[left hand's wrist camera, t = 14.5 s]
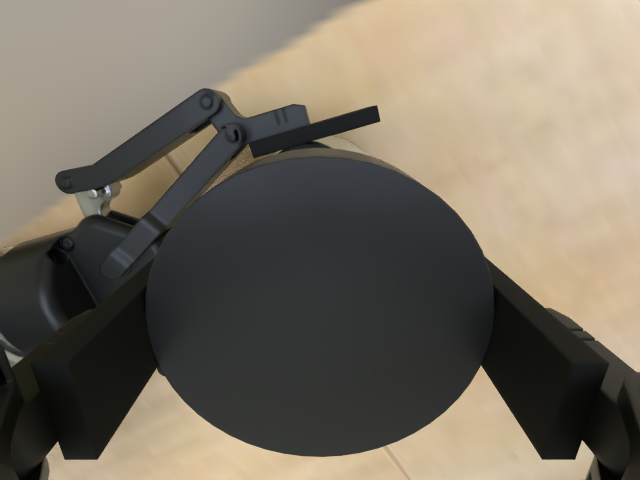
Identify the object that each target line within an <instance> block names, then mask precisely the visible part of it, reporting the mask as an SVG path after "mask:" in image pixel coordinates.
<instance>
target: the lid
mask: <svg viewBox="0 0 640 480" xmlns="http://www.w3.org/2000/svg"><path fill="white" fill-rule="evenodd" d="M494 312H495V309H494V290H493V285H492V280H491V275H490V270H489V268H488V265H487V262H486V260H485V257H484V254H483V251H482V249H481V248H480V246H479V244H478V242H477V241H476V239H475V237H474V235H473V233H472V232H471V230H470V229H469V228H468V226H467V225H466V224H465V223H464V221H463V220H462V219H461V218H460V216H459V215H458V214H457V213H456V212H455V211H454V210H453V209H452V208H451V207H450V206H449V205H448V204H447V203H446V202H444V201H443V200H442V199H441V198H440V197H439V196H438V195H436V194H435V193H433V192H432V191H430V190H429V189H427V188H426V187H425V186H423V185H422V184H420V183H419V182H417V181H416V180H414V179H413V178H411V177H410V176H408V175H407V174H405V173H404V172H403V171H401V170H400V169H398V168H396V167H394V166H392V165H390V164H388V163H386V162H384V161H382V160H380V159H377V158H374V157H371V156H368V155H365V154H362V153H358V152H353V151H347V150H342V149H331V148H309V149H297V150H292V151H287V152H283V153H278V154H274V155H272V156H269V157H266V158H264V159H261V160H258V161H255V162H254V163H252V164H250V165H248V166H246V167H244V168H242V169H241V170H239V171H237V172H235V173H234V174H232V175H231V176H229V177H228V178H226V179H225V180H224V181H222V182H221V183H219V184H218V185H216V186H215V187H213V188H212V189H211V190H209V191H208V192H207V193H205V194H204V195H203V196H201V197H200V198H198V199H197V200H196V201H195V202H194V203H193V204H192V205H191V206H190V207H189V208H188V209H187V210H186V211H185V212H184V213H183V214H182V215H181V216H180V217H179V218H178V220H177V221H176V222H175V224H174V225H173V226H172V228H171V229H170V230H169V232H168V233H167V234H166V236H165V238H164V240H163V242H162V244H161V246H160V248H159V249H158V251H157V253H156V255H155V258H154V261H153V264H152V267H151V270H150V273H149V278H148V284H147V290H146V303H145V316H146V323H147V330H148V335H149V339H150V343H151V346H152V349H153V353H154V355H155V357H156V359H157V362H158V364H159V366H160V368H161V370H162V372H163V373H164V375H165V377H166V378H167V380H168V381H169V383H170V384H171V386H172V387H173V389H174V390H175V391H176V392H177V393H178V395H179V396H180V397H181V398H182V399H183V400H184V402H185V403H187V404H188V405H189V406H190V407H191V408H192V409H193V410H194V411H195V412H196V413H197V414H198V415H200V416H201V417H202V418H204V419H205V420H206V421H208V422H209V423H210V424H212V425H213V426H215V427H216V428H218V429H220V430H222V431H223V432H225V433H227V434H228V435H230V436H232V437H235V438H237V439H239V440H241V441H243V442H246V443H248V444H251V445H254V446H257V447H260V448H263V449H266V450H271V451H275V452H279V453H284V454H291V455H299V456H315V457H327V456H342V455H349V454H355V453H361V452H365V451H369V450H373V449H377V448H380V447H383V446H386V445H389V444H391V443H394V442H397V441H399V440H401V439H403V438H405V437H407V436H409V435H411V434H413V433H415V432H417V431H418V430H420V429H422V428H423V427H425V426H426V425H428V424H430V423H431V422H432V421H434V420H435V419H436V418H437V417H439V416H440V415H441V414H443V413H444V412H445V411H446V410H447V409H448V408H449V407H450V406H451V405H452V404H453V403H454V402H455V401H456V400H457V399H458V398H459V397H460V396H461V394H462V393H463V392H464V391H465V389H466V388H467V387H468V386H469V384H470V383H471V381H472V380H473V378H474V376H475V375H476V373H477V371H478V370H479V368H480V366H481V364H482V361H483V359H484V356H485V354H486V352H487V349H488V346H489V342H490V338H491V334H492V329H493V321H494Z"/></svg>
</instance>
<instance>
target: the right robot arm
mask: <svg viewBox="0 0 640 480" xmlns="http://www.w3.org/2000/svg"><path fill="white" fill-rule="evenodd" d="M376 122H380V117H379V112H378V108H377V105H376V106H371V107H367V108H363V109H360V110H357V111H353V112H350V113H347V114H343V115H340V116H336V117H333V118H330V119H326V120H323V121H319V122H316V123H313V124H310V121H309V117H308V114H307V110H306V106H304V105H296V104H292V105H289V106H286V107H283V108H279V109H276V110H272V111H269V112H266V113H263V114H259V115H256V116H253V117H249V118H247V117H244V116H242V115H241V114H240V113H239V112H238V111H237V110H236V108H235V107H234V105H233V104H232V103H231V100H230V98H229V96H228V95H227V94H225V93H223V92H220V91H216V90H212V89H205V88H204V89H201V90H199V91H198V92H196V93H195V94H193V95H192V96H190V97H189V98H187V99H186V100H185V101H183V102H182V103H180V104H179V105H177V106H176V107H175V108H173V109H172V110H170V111H169V112H167V113H166V114H165V115H163V116H162V117H160V118H159V119H157V120H156V121H155V122H153V123H152V124H150V125H149V126H147V127H146V128H145V129H143V130H142V131H140V132H139V133H137V134H136V135H135V136H133V137H132V138H130V139H129V140H127V141H126V142H125V143H123V144H122V145H120V146H119V147H117V148H116V149H115V150H113V151H112V152H110V153H109V154H107V155H106V156H105V157H103V158H102V159H100V160H99V161H97V162H96V163H95V164H93V165H88V166H84V167H79V168H74V169H70V170H65V171H61V172H59V173H58V174H57V175H56V178H55V182H56V185H57V186H58V188H59V189H60V190H61V191H63V192H65V193H67V194H73V193H74V194H75V196H76V198H77V201H78V203H79V205H80V207H81V210H82V212H83V214H84V216H85V218H84V219H83V220H82V221H81V222H80V223H79V225H78V226H77V227H75V228H72V229H68V230H65V231H61V232H58V233H54V234H51V235H47V236H44V237H40V238H37V239H33V240H30V241H26V242H23V243H21V244H19V245H16V246H9V247H5V248H2V249H0V344H2V345H3V347H4V350H5V352H6V355H7V357H8V360H9V363H10V365H11V367H13V366H14V365H15V364H16V363H18V362H19V361H20V360H21V359H22V358H24V357H25V356H26V355H27V354H29V353H30V352H31V351H32V350H34V349H35V348H36V347H37V346H38V345H40V344H41V343H42V342H45V341H46V339H47V338H48V337H49V336H51V335H52V334H53V333H57V330H58V329H59V328H60V327H62V326H63V325H64V324H65V323H67V322H68V321H69V320H70V319H72V318H74V317H76V316H78V315H80V314H82V313H83V312H85V311H87V310H93V309H95V308H96V307H97V306H98V305H99V304H100V303H102V302H103V301H104V300H105V299H106V298H107V297H109V296H110V295H111V294H112V293H113V292H114V291H116V290H117V289H118V288H119V287H120V286H121V285H123V284H124V283H125V282H126V281H127V280H128V279H130V278H131V277H132V276H133V275H134V274H135V273H137V272H138V271H139V270H140V269H141V268H143V267H144V266H145V265H146V264H147V263H148V262H150V261H151V260H152V259H153V258H154V257H155V255H156V253H157V251H158V249H159V248H160V246H161V244H162V242H163V240H164V238H165V236H166V234H167V233H168V232H169V230H170V229H171V228H172V226H173V225H174V224H175V222H176V221H177V220H178V218H179V217H180V216H181V215H182V214H183V213H184V212H185V211H186V210H187V209H188V208H189V207H190V206H191V205H192V204H193V203H194V202H195V201H196V200H197V199H198V198H200V197H201V195H202V194H203V193H204V192H205V191H206V190H207V189H208V188H209V187H210V186H211V184H212V183H213V182H214V181H215V180H216V179H217V178H218V177H219V176H220V175H221V174H222V172H223V171H224V170H225V169H226V168H227V167H228V166H229V165H230V164H231V163H232V161H233V160H234V159H235V158H236V157H237V156H238V155H239V154H240V153H241V152H242V150H243V149H244V148H245V147H246V146H247V145H248V144H249V146H250V149H251V152H252V155H253V157H254V158H256V157H259V156H263V155H266V154H270V153H273V152H277V151H280V150H284V149H287V148H290V147H293V146H297V145H301V144H304V143H308V142H311V141H314V140H318V139H321V138H325V137H328V136H332V135H335V134H339V133H342V132H345V131H349V130H352V129H356V128H359V127H363V126H366V125H370V124H373V123H376ZM211 124H212V125H213V126H214V127H215V128H216V130H217V131H218V133H217V134H216V136H215V137H214V138H213V139H212V140H211V141H210V142H209V144H208V145H207V146H206V147H205V148H204V149H203V150H202V152H201V153H200V154H199V155H198V156H197V157H196V158H195V160H194V161H193V162H192V163H191V164H190V165H189V166H188V168H187V169H186V170H185V171H184V172H183V173H182V174H181V176H180V177H179V178H178V179H177V180H176V181H175V182H174V184H173V185H172V186H171V187H170V188H169V189H168V191H167V192H166V193H165V194H164V195H163V196H162V197H161V199H160V200H159V201H158V202H157V203H156V204H155V205H154V207H153V208H152V209H151V210H150V211H149V212H148V213H147V214H145V215H144V216H143V217H142V218H141V219H138V218H134V217H131V216H128V215H125V214H122V213H119V212H116V211H113V210H110V201H111V200H112V199H113V198H115V197H117V196H118V195H119V193H120V189H121V187H122V185H121V183H120V182H119V181H122V180H125V179H128V178H130V177H133V176H134V175H136V174H138V173H140V172H141V171H143V170H144V169H146V168H147V167H149V166H150V165H151V164H153V163H154V162H156V161H157V160H159V159H160V158H162V157H163V156H165V155H166V154H168V153H169V152H171V151H172V150H174V149H175V148H177V147H178V146H180V145H181V144H183V143H184V142H186V141H187V140H189V139H190V138H192V137H193V136H195V135H196V134H198V133H199V132H201V131H202V130H204V129H205V128H207V127H208V126H209V125H211ZM157 370H158V372H159V373H160V374H161V375H163V376H165V375H164V373H163V372H162V370H161V368H160V366H159V365H158V367H157Z"/></svg>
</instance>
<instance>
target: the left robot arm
mask: <svg viewBox="0 0 640 480" xmlns="http://www.w3.org/2000/svg"><path fill="white" fill-rule="evenodd" d="M154 258H155V257H154ZM154 258H153V259H152V260H151V261H150V262H148V263H147V264H146V265H145V266H144V267H143V268H141V269H140V270H139V271H138V272H137V273H135V274H134V275H133V276H132V277H131V278H130V279H128V280H127V281H126V282H125V283H124V284H123V285H121V286H120V287H119V288H118V289H117V290H116V291H114V292H113V293H112V294H111V295H110V296H109V297H107V298H106V299H105V300H104V301H103V302H102V303H100V304H99V305H98V306H97V307H96V308H95V309H93V310H87V311H85V312H83V313H82V314H80V315H78V316H76V317H74V318H72V319H70V320H69V321H68V322H67V323H65V324H64V325H63V326H62V327H60V328H59V329H58V330H57V333H53V334H52V335H51V336H49V337H48V338H47V339H46V341H45V342H42V343H41V344H40V345H38V346H37V347H36V348H35V349H34V350H32V351H31V352H30V353H29V354H27V355H26V356H25V357H24V358H22V359H21V360H20V361H19V362H18V363H16V364H15V365H14V366H13V367H11V365H10V363H9V360H8V357H7V355H6V352H5V350H4V347H3V345H2V344H0V480H48V477H49V465H48V461H47V458H46V455H47V454H48V453H49V452H50V450H51V449H52V448H53V447H54V445H55V444H56V443H57V442H59V445H60V448H61V451H62V453H63V456H64V459H65V460H98V458H99V456H100V455H101V453H102V452H103V450H104V449H105V447H106V446H107V444H108V442H109V441H110V439H111V438H112V436H113V435H114V433H115V432H116V430H117V429H118V427H119V425H120V424H121V422H122V421H123V419H124V418H125V416H126V415H127V413H128V412H129V410H130V408H131V407H132V405H133V404H134V402H135V401H136V399H137V398H138V396H139V395H140V393H141V391H142V390H143V388H144V387H145V385H146V384H147V382H148V381H149V379H150V378H151V376H152V374H153V373H154V371H155V370H156V368H157V367H158V365H159V364H158V362H157V359H156V357H155V355H154V353H153V349H152V346H151V343H150V339H149V335H148V330H147V323H146V316H145V303H146V290H147V284H148V278H149V273H150V270H151V267H152V264H153V261H154ZM485 260H486V262H487V265H488V268H489V270H490V275H491V280H492V285H493V290H494V309H495V312H494V321H493V329H492V334H491V338H490V342H489V346H488V349H487V352H486V354H485V356H484V359H483V361H482V364H481V365H482V367H483V369H484V370H485V372H486V373H487V375H488V376H489V378H490V379H491V381H492V382H493V384H494V386H495V387H496V389H497V390H498V392H499V393H500V395H501V396H502V398H503V400H504V401H505V403H506V404H507V406H508V407H509V409H510V410H511V412H512V413H513V415H514V417H515V418H516V420H517V421H518V423H519V424H520V426H521V427H522V429H523V430H524V432H525V434H526V435H527V437H528V438H529V440H530V441H531V443H532V444H533V446H534V447H535V449H536V451H537V452H538V454H539V455H540V457H541V458H542V459H570V460H575V458H576V455H577V453H578V450H579V447H580V444H581V441H582V440H583V441H584V442H585V444H586V445H587V446H588V447H589V449H590V450H591V451H592V452H593V454H594V455H595V456H594V458H593V461H592V464H591V466H590V469H589V471H588V474H587V477H586V479H585V480H640V372H636V371H634V370H633V369H632V368H631V367H629V366H628V365H627V364H626V363H624V362H623V361H622V360H621V359H619V358H618V357H617V356H616V355H615V354H613V353H612V352H611V351H610V350H608V349H607V348H606V347H605V346H603V345H602V344H601V343H600V342H599V341H595V338H594V337H592V336H591V335H590V334H589V333H587V332H586V331H583V329H582V328H581V327H580V326H579V325H578V324H576V323H575V322H574V321H573V320H571V319H570V318H569V317H567V316H565V315H563V314H561V313H559V312H557V311H555V310H553V309H551V308H544V307H543V306H542V305H540V304H539V303H538V302H537V301H536V300H535V299H533V298H532V297H531V296H530V295H529V294H528V293H526V292H525V291H524V290H523V289H522V288H521V287H519V286H518V285H517V284H516V283H515V282H514V281H512V280H511V279H510V278H509V277H508V276H507V275H505V274H504V273H503V272H502V271H501V270H500V269H498V268H497V267H496V266H495V265H494V264H493V263H491V262H490V261H489V260H488V259H487V258H486V257H485Z"/></svg>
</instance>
